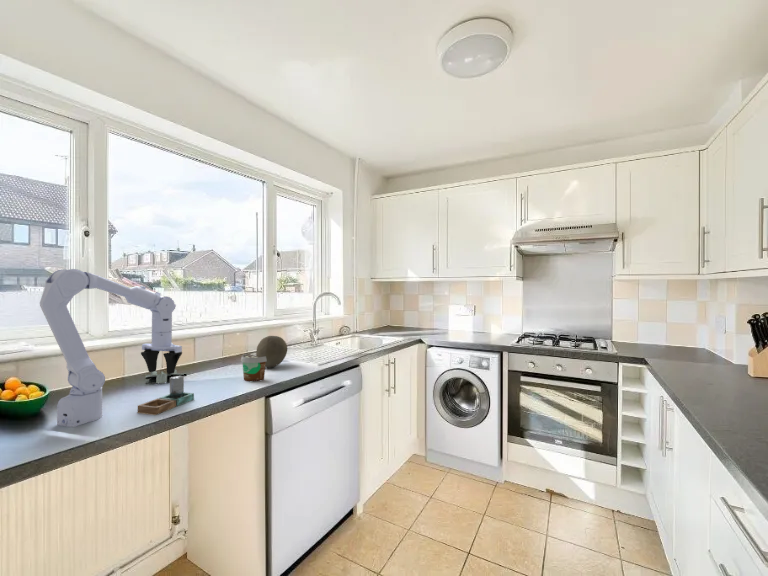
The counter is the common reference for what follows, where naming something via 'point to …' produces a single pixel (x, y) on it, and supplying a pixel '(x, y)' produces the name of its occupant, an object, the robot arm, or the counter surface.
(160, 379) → the metal bracket
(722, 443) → the counter surface
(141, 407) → the board
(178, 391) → the steel pin
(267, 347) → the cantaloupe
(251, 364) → the food container
